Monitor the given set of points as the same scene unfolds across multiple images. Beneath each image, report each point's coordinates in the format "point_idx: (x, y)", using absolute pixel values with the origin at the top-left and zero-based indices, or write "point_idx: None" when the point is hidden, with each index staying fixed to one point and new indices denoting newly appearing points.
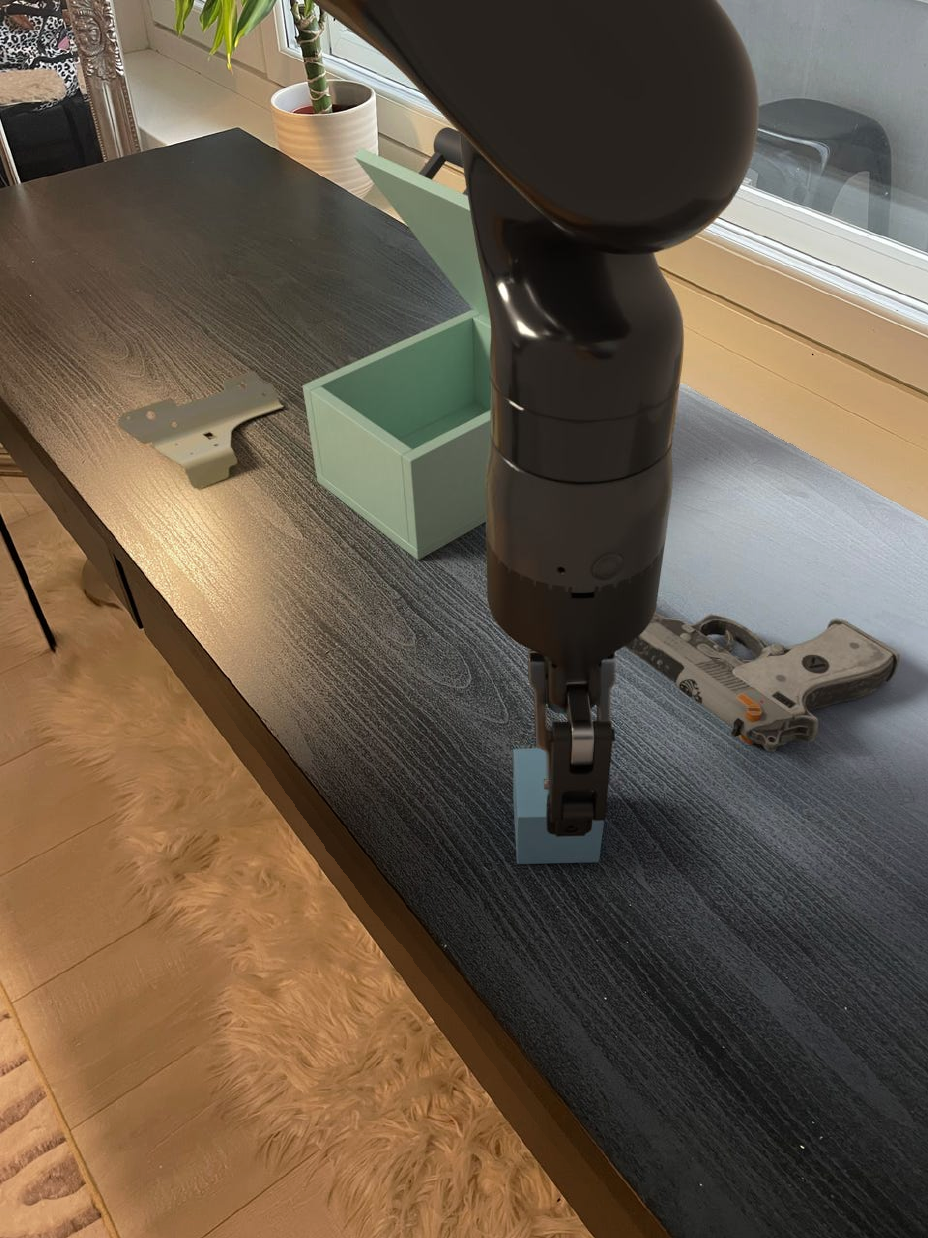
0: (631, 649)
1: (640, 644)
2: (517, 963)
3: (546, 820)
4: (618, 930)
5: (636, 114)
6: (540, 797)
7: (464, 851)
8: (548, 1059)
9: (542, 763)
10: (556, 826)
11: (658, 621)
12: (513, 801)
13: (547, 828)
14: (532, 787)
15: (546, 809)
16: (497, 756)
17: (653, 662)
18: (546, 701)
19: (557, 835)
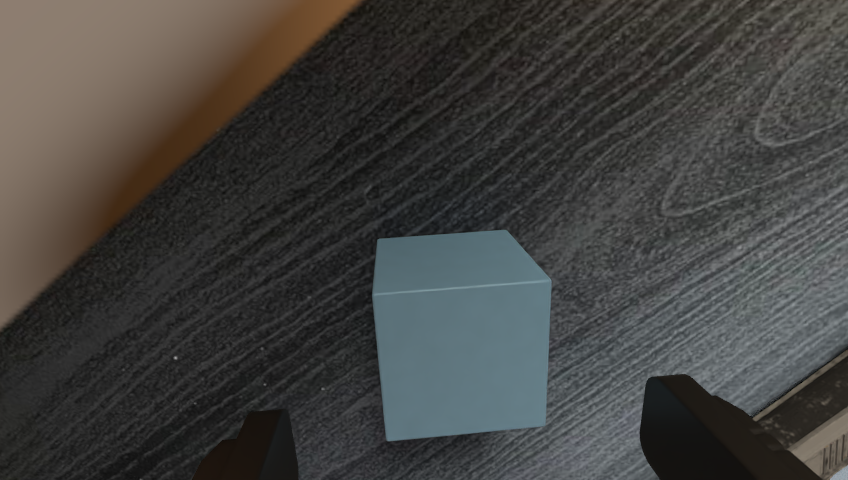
0: (773, 417)
1: (779, 441)
2: (205, 242)
3: (269, 418)
4: (281, 374)
5: None
6: (424, 334)
7: (399, 151)
8: (65, 287)
9: (509, 336)
10: (206, 475)
11: (822, 474)
12: (495, 231)
13: (246, 420)
14: (449, 319)
15: (271, 441)
16: (591, 200)
17: None
18: (650, 393)
19: (211, 454)
